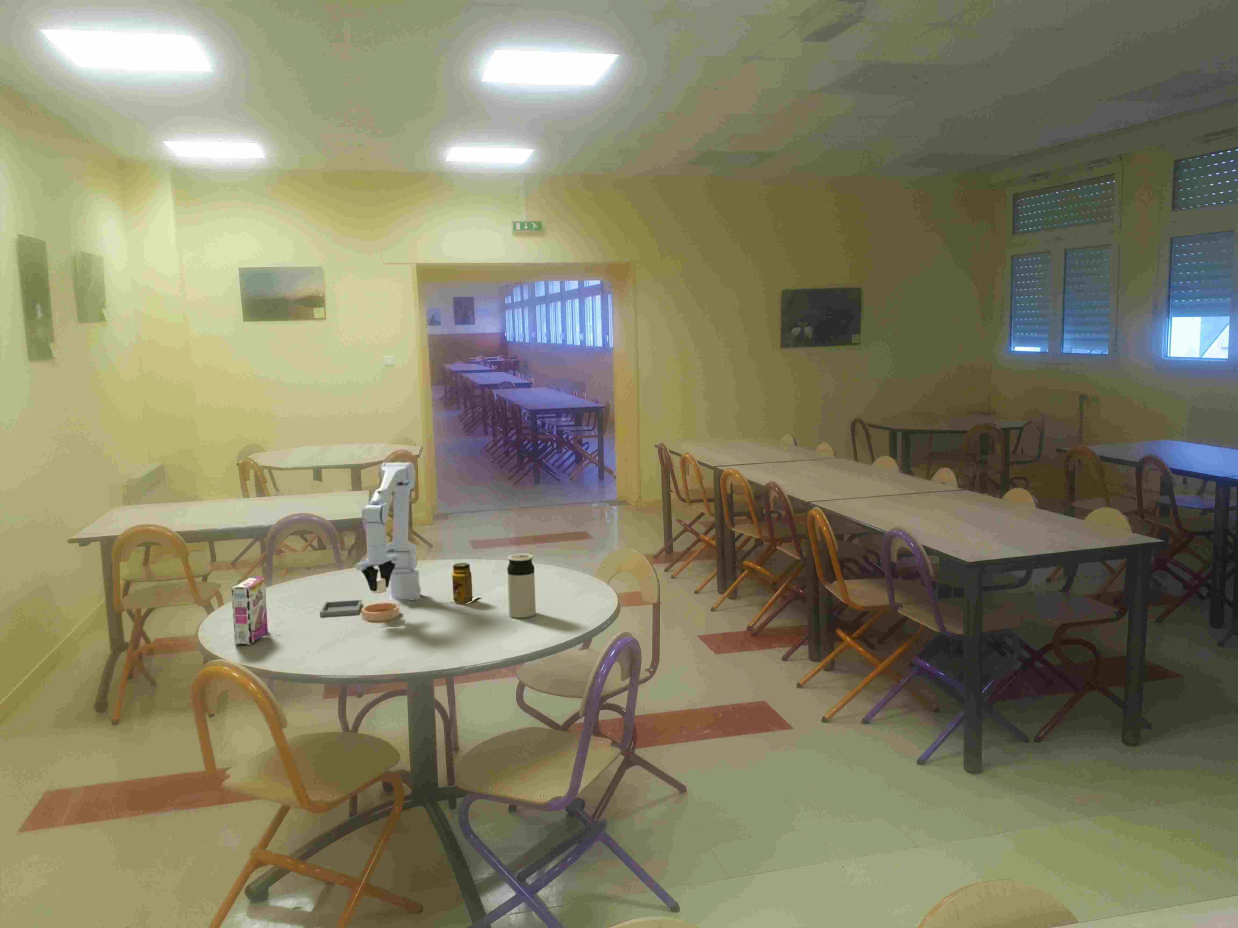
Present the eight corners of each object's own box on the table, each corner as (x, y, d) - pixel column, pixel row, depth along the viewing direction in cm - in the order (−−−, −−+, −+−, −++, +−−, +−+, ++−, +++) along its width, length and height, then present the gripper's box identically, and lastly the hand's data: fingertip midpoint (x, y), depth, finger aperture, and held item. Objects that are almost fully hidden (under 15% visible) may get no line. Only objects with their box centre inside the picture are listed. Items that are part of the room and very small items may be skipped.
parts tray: (362, 605, 280) (361, 599, 280) (358, 615, 270) (357, 609, 269) (325, 608, 278) (325, 602, 278) (320, 618, 268) (319, 612, 267)
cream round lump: (386, 589, 269) (385, 577, 269) (385, 592, 265) (385, 580, 265) (372, 590, 268) (371, 578, 268) (372, 593, 264) (371, 581, 264)
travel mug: (531, 619, 263) (529, 559, 261) (505, 618, 265) (503, 559, 262) (538, 611, 271) (537, 553, 268) (513, 610, 272) (511, 552, 270)
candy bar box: (252, 645, 244) (247, 587, 242) (234, 645, 244) (229, 587, 242) (269, 632, 255) (265, 577, 253) (252, 632, 255) (248, 577, 253)
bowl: (400, 610, 274) (400, 601, 274) (398, 621, 263) (397, 611, 263) (364, 613, 272) (363, 603, 272) (360, 623, 262) (359, 614, 261)
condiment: (447, 603, 282) (446, 566, 280) (462, 595, 290) (460, 559, 288) (467, 605, 279) (466, 567, 277) (481, 597, 287) (480, 561, 285)
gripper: (386, 538, 273) (388, 581, 275) (348, 547, 261) (351, 592, 263) (402, 540, 269) (404, 584, 271) (364, 550, 257) (367, 595, 259)
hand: (379, 588), depth 267 cm, fingers closed on cream round lump, 4 cm apart
